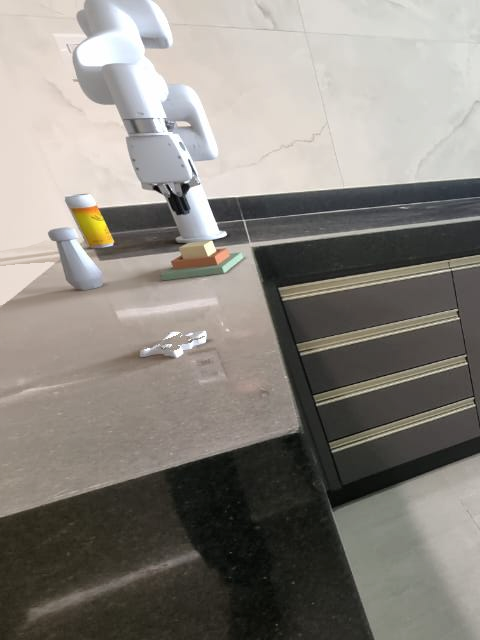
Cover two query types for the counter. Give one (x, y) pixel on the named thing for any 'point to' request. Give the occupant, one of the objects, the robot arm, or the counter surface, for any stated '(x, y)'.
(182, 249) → the tan block
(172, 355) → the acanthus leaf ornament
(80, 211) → the beer can
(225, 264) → the base pad
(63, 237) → the salt shaker
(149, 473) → the counter surface
